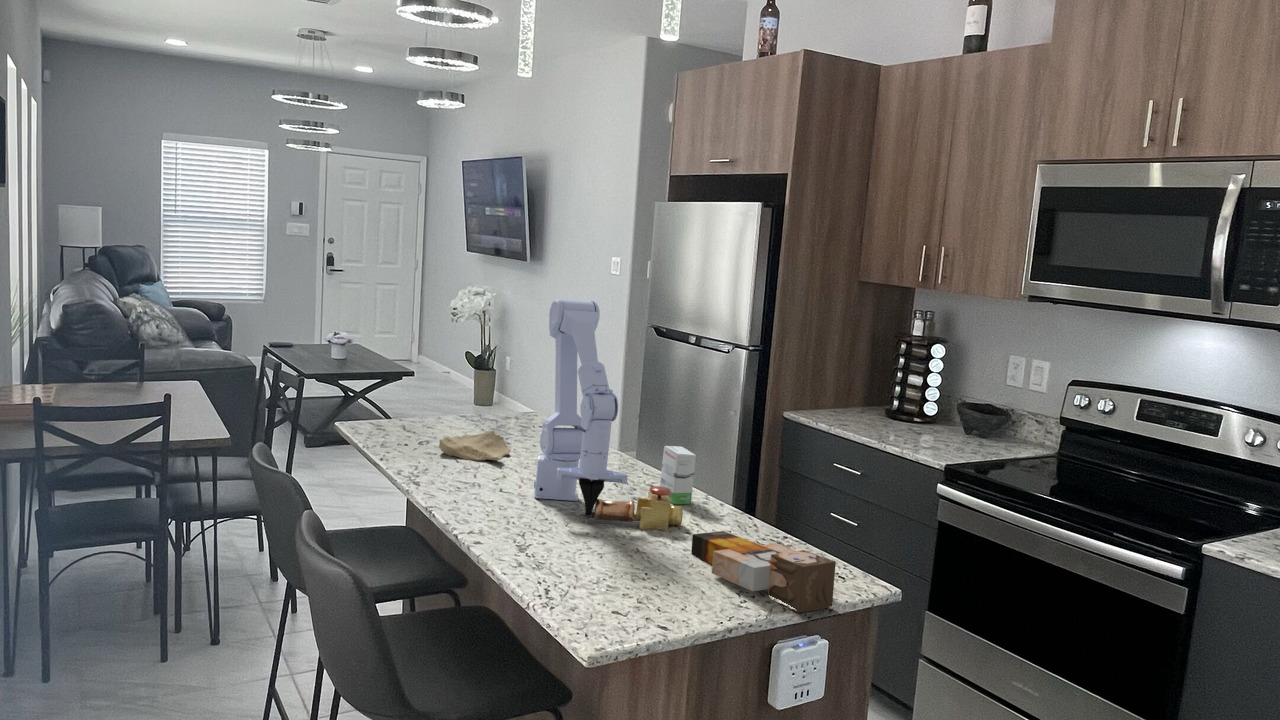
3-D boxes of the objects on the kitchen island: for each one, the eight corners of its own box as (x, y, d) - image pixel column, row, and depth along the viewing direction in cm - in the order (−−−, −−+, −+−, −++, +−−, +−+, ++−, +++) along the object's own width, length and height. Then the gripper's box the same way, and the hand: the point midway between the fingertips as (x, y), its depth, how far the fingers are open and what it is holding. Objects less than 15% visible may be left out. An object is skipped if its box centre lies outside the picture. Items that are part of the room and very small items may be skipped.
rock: (522, 454, 244) (524, 438, 244) (498, 471, 230) (499, 454, 229) (462, 441, 249) (463, 425, 248) (434, 456, 234) (435, 439, 233)
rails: (586, 523, 192) (586, 518, 192) (584, 515, 198) (585, 510, 197) (639, 527, 194) (639, 522, 193) (636, 518, 199) (636, 514, 199)
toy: (738, 519, 187) (850, 559, 162) (735, 558, 187) (847, 603, 162) (677, 526, 178) (786, 569, 153) (674, 566, 178) (782, 615, 154)
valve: (639, 528, 193) (643, 493, 192) (635, 517, 200) (639, 482, 199) (682, 531, 194) (686, 496, 193) (676, 520, 201) (680, 485, 200)
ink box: (691, 504, 214) (697, 454, 213) (672, 504, 212) (678, 454, 211) (676, 493, 222) (682, 445, 221) (657, 493, 220) (663, 445, 219)
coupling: (595, 521, 193) (597, 500, 193) (593, 518, 197) (595, 497, 197) (633, 524, 194) (635, 502, 194) (630, 520, 198) (632, 500, 198)
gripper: (560, 452, 188) (553, 517, 190) (631, 458, 190) (624, 522, 192) (559, 444, 195) (553, 507, 197) (627, 450, 197) (621, 512, 199)
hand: (588, 514), depth 195 cm, fingers closed
